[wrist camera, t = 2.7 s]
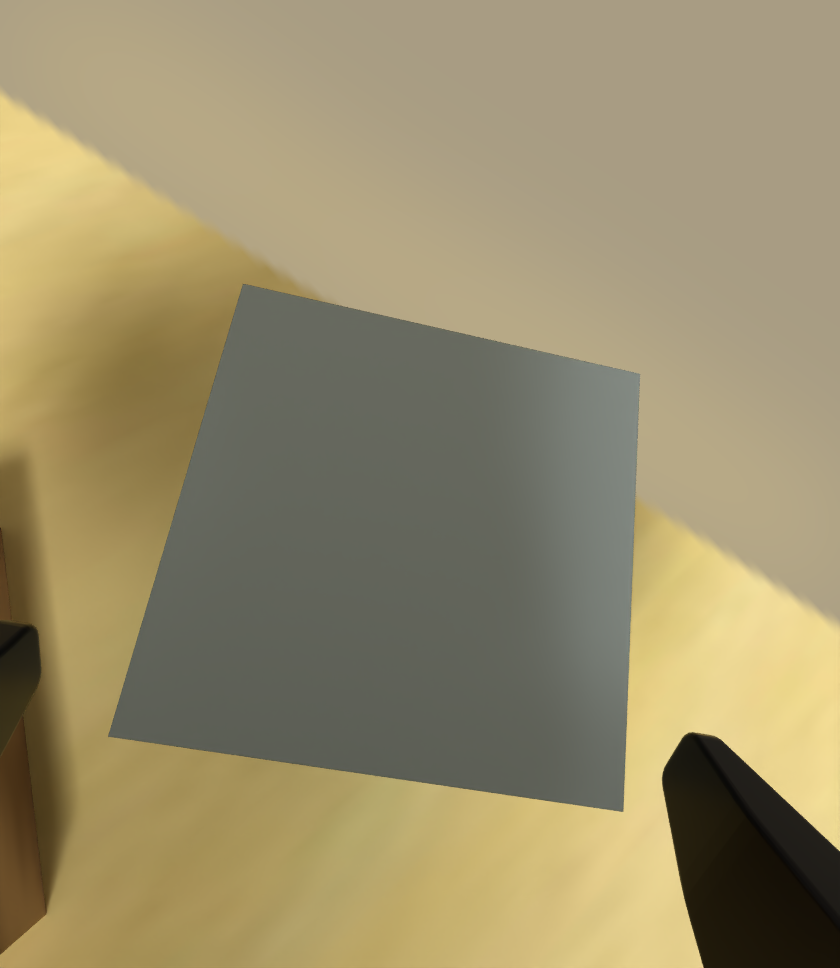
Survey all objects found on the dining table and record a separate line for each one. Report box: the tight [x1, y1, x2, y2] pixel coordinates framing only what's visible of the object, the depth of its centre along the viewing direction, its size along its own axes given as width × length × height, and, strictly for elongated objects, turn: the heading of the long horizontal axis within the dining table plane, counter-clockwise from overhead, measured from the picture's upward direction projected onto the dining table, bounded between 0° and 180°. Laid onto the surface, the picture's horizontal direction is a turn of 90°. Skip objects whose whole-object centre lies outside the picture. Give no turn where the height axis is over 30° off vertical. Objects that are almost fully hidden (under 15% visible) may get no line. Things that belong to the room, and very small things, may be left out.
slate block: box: [108, 284, 640, 812], centre depth 13 cm, size 6×6×12 cm
